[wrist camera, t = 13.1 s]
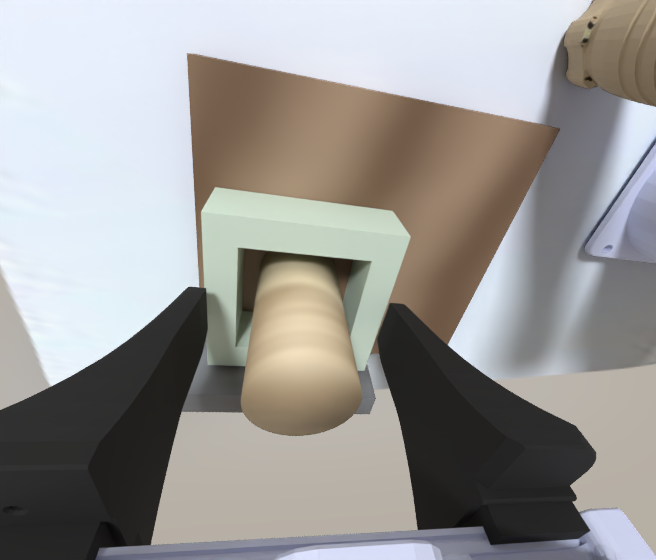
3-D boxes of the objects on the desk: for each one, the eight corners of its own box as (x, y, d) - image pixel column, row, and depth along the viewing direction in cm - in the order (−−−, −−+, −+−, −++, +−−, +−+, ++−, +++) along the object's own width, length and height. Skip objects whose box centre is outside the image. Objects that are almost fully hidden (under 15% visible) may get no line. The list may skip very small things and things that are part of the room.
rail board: (543, 124, 14) (654, 152, 9) (435, 344, 21) (471, 415, 17) (194, 54, 11) (139, 49, 7) (206, 332, 18) (182, 411, 14)
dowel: (328, 305, 17) (349, 435, 11) (257, 300, 16) (239, 435, 10) (341, 244, 15) (375, 363, 9) (261, 235, 14) (241, 357, 8)
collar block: (392, 210, 14) (410, 236, 12) (355, 335, 18) (364, 370, 16) (215, 187, 13) (200, 211, 11) (217, 327, 17) (207, 364, 15)
